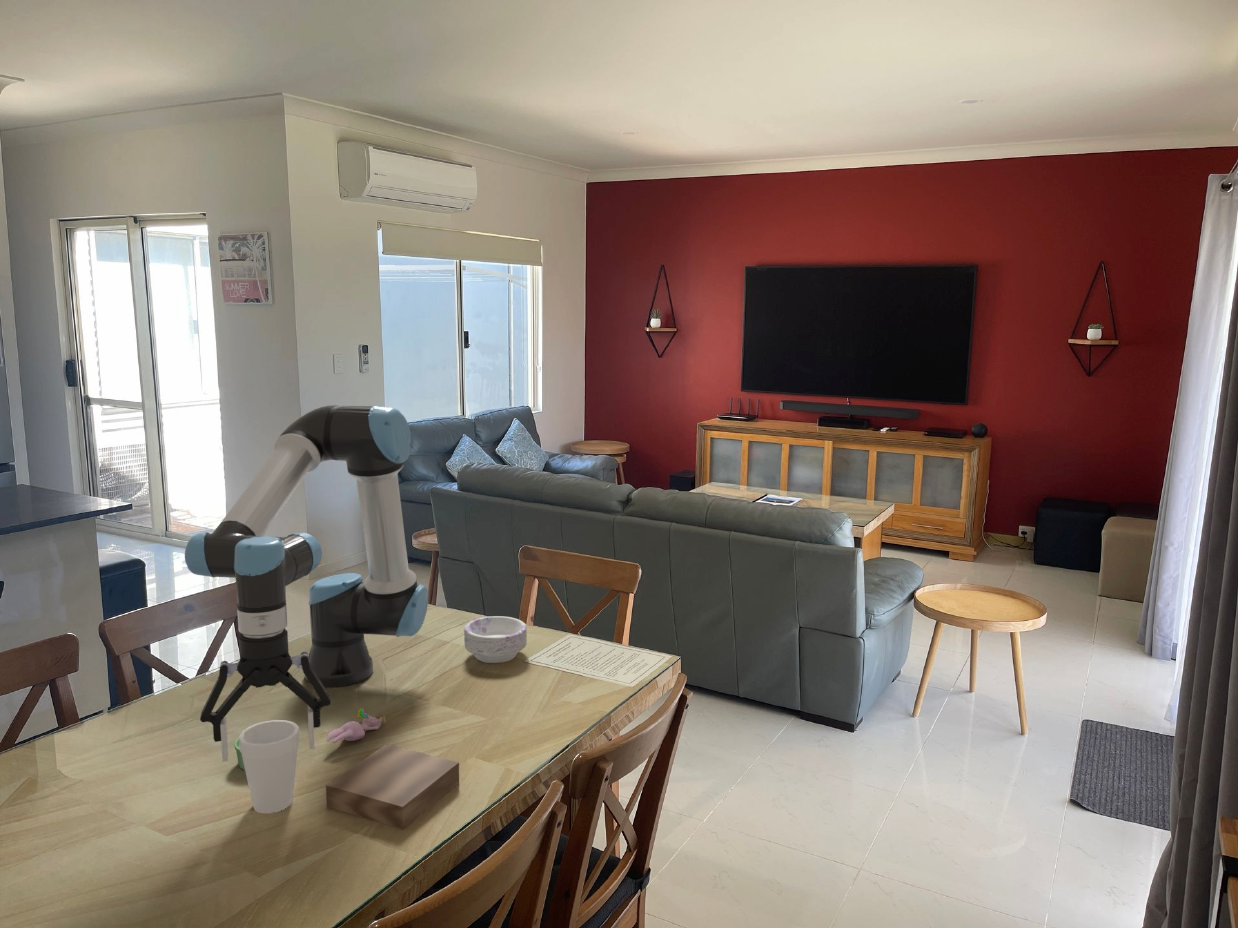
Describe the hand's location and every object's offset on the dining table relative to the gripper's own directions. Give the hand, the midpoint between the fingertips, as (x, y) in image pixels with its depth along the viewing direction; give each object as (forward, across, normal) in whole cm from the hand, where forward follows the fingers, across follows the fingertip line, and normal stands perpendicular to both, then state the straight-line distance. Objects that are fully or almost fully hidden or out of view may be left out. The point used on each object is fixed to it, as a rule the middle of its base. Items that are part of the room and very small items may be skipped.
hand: (269, 751), depth 149 cm
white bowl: (+9, +51, +53) cm, 74 cm away
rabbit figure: (+10, +16, +20) cm, 27 cm away
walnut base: (+10, +20, -4) cm, 23 cm away
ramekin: (+10, -2, +17) cm, 19 cm away
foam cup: (+10, 0, 0) cm, 10 cm away
